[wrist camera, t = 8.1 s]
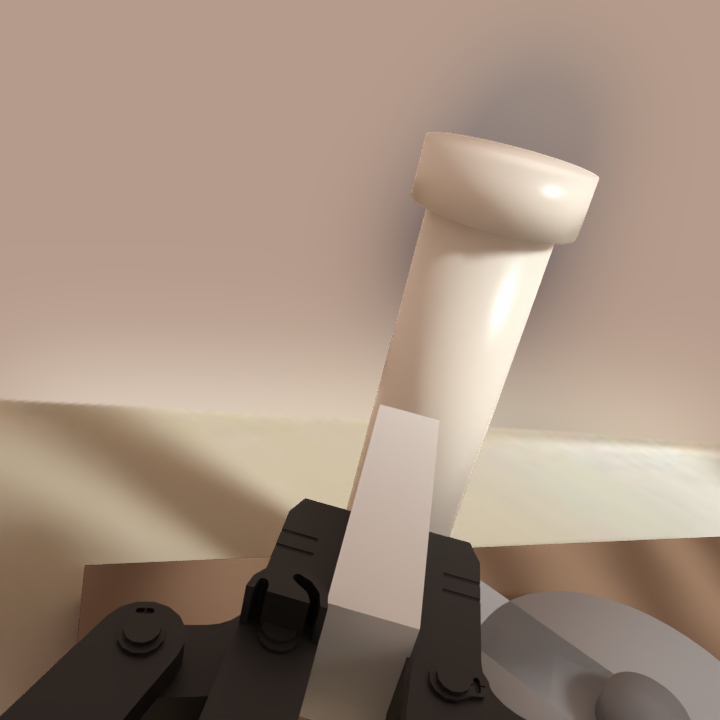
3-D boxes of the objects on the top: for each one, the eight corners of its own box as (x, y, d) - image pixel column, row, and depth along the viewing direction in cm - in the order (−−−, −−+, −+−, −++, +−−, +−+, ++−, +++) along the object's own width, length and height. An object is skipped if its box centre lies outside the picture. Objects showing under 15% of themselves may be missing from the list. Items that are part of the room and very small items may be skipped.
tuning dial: (929, 807, 20) (1355, 386, 13) (1004, 1256, 12) (2153, 744, 5) (390, 487, 28) (495, 133, 22) (220, 623, 20) (307, 127, 14)
